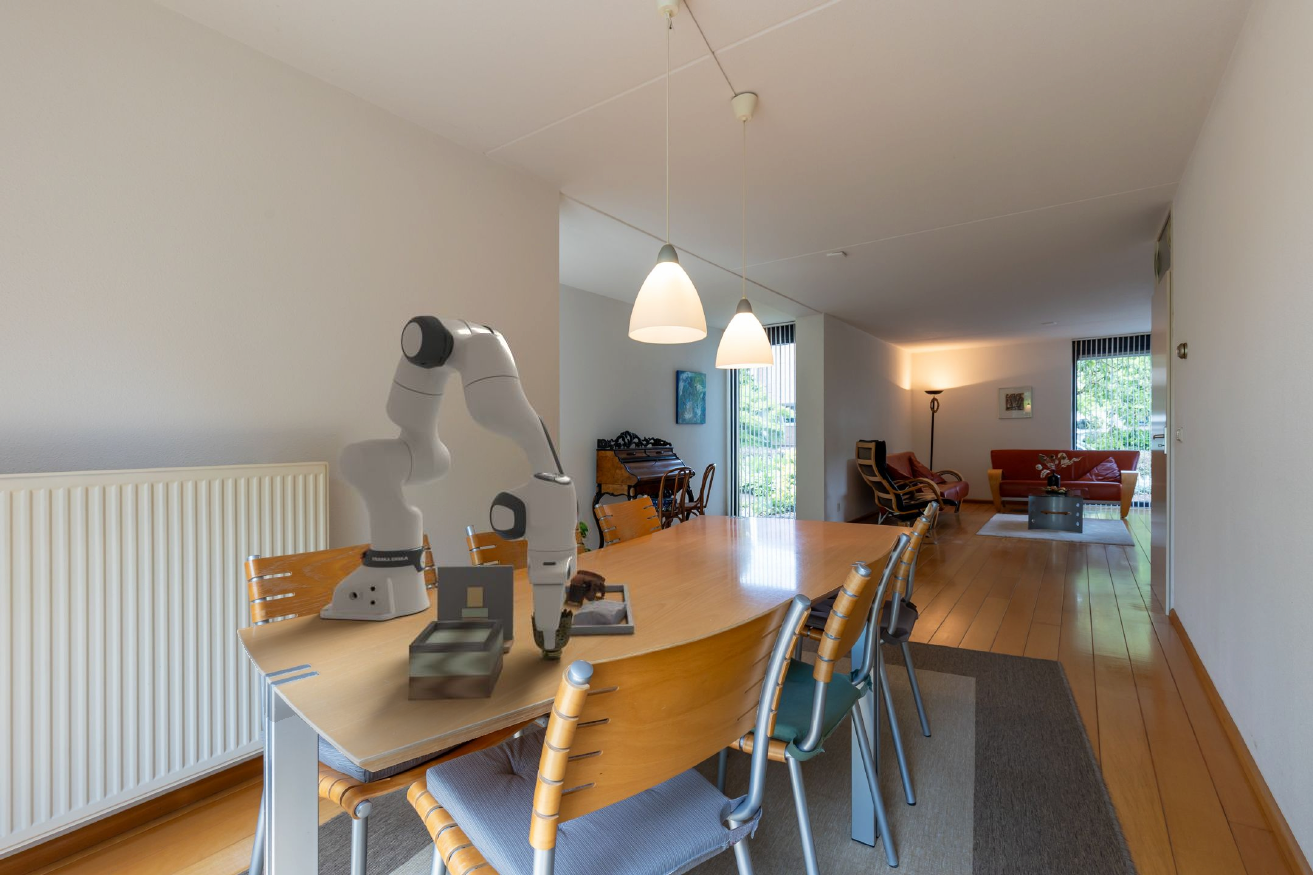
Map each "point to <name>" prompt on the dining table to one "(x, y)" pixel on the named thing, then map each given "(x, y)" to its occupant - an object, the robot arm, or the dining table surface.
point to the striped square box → (456, 659)
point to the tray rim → (608, 628)
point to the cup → (560, 636)
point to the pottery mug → (585, 587)
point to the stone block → (600, 613)
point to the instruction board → (477, 595)
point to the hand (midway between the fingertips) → (551, 639)
